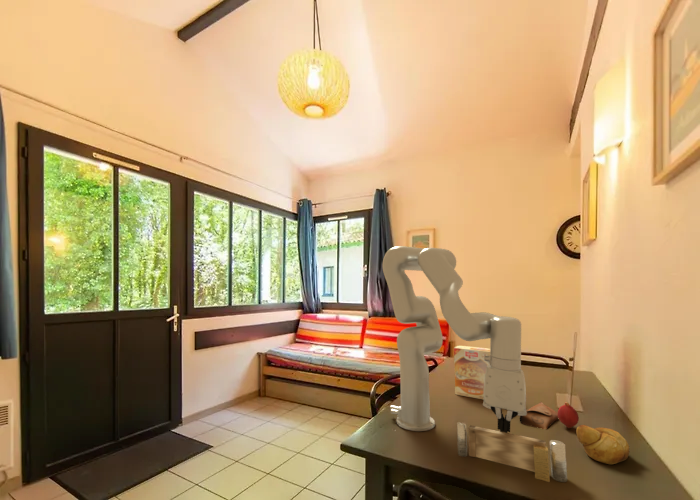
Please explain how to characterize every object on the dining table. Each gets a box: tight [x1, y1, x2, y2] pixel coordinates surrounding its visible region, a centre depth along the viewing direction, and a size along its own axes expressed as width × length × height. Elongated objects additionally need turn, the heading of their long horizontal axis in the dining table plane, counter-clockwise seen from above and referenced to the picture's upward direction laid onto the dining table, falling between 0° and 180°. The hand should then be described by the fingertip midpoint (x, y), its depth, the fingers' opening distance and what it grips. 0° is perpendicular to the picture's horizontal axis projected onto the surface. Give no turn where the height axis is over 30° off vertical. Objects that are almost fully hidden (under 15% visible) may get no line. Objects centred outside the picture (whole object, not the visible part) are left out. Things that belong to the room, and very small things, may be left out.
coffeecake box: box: [453, 345, 490, 400], centre depth 141 cm, size 15×7×20 cm, turn 56°
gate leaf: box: [468, 424, 547, 472], centre depth 86 cm, size 18×2×7 cm, turn 59°
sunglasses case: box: [519, 401, 559, 430], centre depth 116 cm, size 18×7×7 cm
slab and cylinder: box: [534, 439, 568, 483], centre depth 81 cm, size 7×5×8 cm
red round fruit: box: [557, 401, 580, 429], centre depth 109 cm, size 6×6×8 cm
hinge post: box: [456, 421, 468, 458], centre depth 92 cm, size 2×2×8 cm
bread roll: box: [576, 424, 630, 465], centre depth 91 cm, size 13×10×8 cm
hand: (503, 433), depth 89 cm, fingers closed
